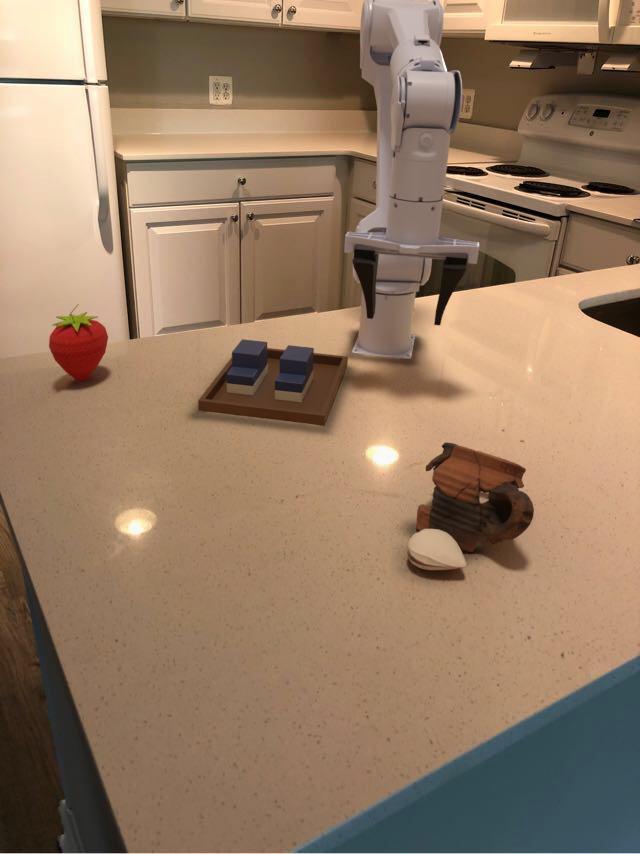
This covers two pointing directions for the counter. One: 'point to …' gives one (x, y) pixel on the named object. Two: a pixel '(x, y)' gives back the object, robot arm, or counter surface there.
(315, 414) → the brown serving tray
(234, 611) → the counter surface
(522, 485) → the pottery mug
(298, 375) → the trainer
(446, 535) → the white teardrop shell
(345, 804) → the counter surface
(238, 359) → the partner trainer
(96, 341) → the strawberry
